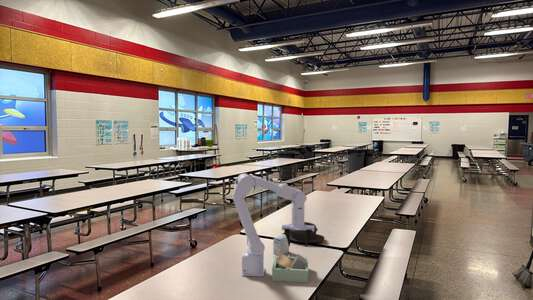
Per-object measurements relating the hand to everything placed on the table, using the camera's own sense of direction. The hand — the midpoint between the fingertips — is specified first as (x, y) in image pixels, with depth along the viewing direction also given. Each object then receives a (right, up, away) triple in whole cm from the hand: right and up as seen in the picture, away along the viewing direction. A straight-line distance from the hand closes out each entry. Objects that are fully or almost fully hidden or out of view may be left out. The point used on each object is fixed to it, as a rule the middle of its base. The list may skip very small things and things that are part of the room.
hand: (297, 245), depth 147 cm
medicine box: (-7, -10, +19) cm, 22 cm away
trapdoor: (-5, -9, -6) cm, 11 cm away
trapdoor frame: (-4, -11, -6) cm, 13 cm away
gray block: (-1, -8, -6) cm, 10 cm away
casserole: (+7, -8, +39) cm, 41 cm away
